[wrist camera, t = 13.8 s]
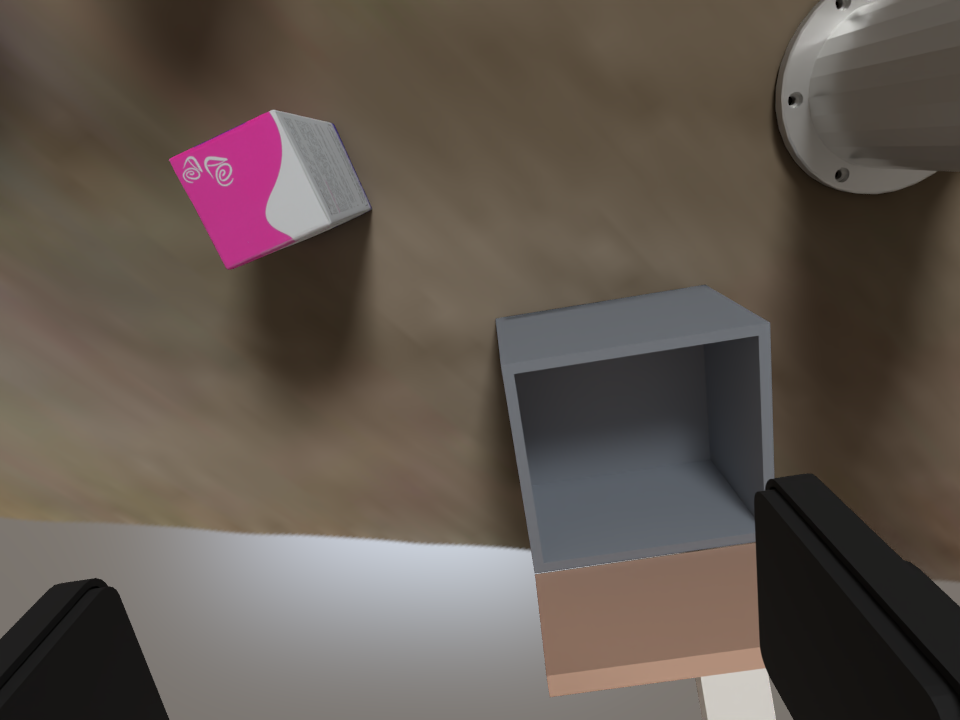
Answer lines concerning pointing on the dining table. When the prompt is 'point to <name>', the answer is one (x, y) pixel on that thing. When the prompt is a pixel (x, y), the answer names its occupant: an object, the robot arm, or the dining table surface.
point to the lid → (660, 628)
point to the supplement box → (270, 185)
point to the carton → (638, 425)
